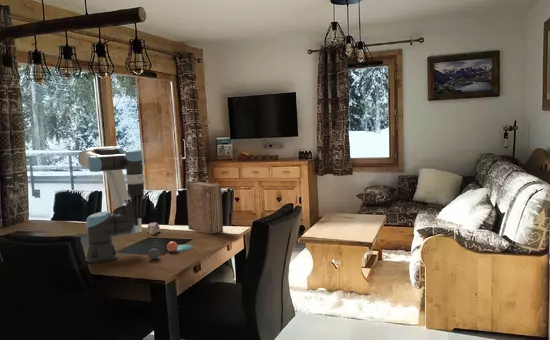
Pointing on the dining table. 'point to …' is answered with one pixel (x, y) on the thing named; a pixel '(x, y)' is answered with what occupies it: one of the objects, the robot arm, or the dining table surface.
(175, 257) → the dining table surface
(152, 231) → the mineral specimen
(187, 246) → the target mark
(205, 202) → the book
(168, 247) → the object ball
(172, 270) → the dining table surface
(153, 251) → the gray ball
